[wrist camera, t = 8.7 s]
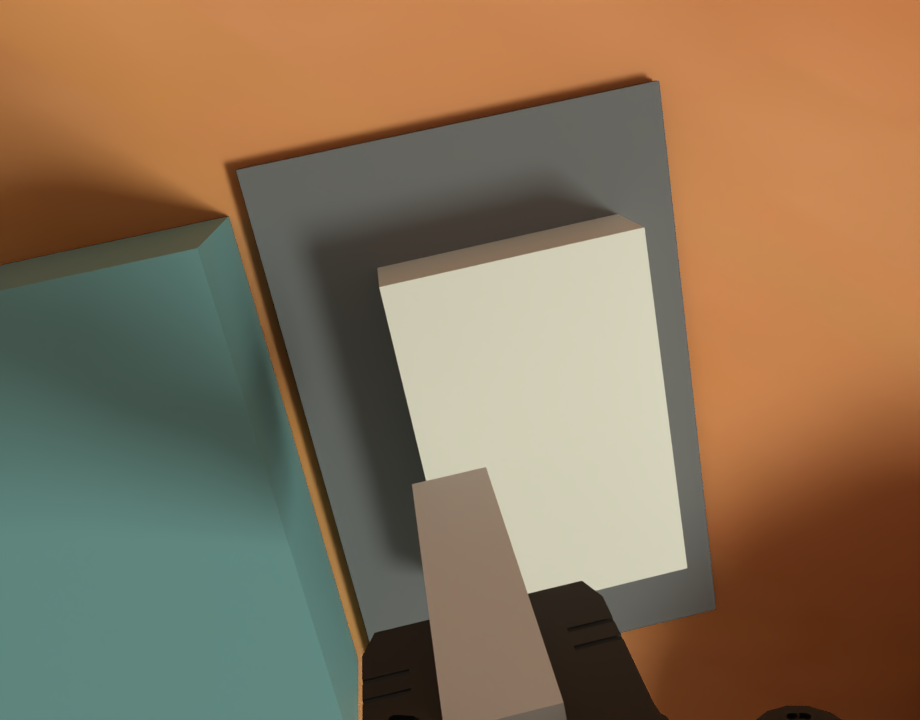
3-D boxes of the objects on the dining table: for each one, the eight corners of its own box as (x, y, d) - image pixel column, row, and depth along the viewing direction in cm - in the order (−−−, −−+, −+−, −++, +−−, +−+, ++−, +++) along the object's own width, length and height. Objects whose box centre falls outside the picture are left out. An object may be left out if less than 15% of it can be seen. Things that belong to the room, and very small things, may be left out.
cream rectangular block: (687, 568, 21) (660, 528, 23) (644, 227, 18) (617, 213, 20) (460, 623, 21) (452, 579, 23) (379, 287, 18) (377, 268, 20)
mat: (382, 683, 24) (383, 690, 24) (237, 169, 19) (235, 170, 19) (712, 603, 24) (716, 609, 24) (654, 80, 19) (659, 80, 19)
